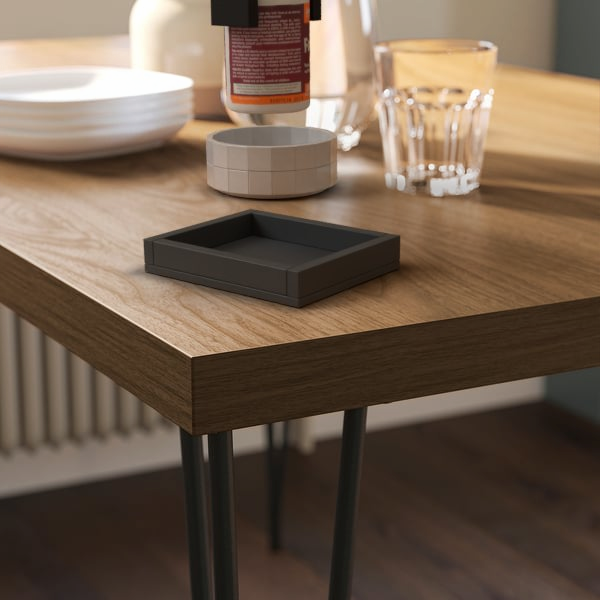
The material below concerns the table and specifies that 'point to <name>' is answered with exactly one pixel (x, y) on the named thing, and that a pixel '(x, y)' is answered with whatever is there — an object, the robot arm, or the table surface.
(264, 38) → the pill bottle
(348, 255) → the tray
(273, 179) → the gray bowl
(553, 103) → the table surface
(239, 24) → the robot arm
